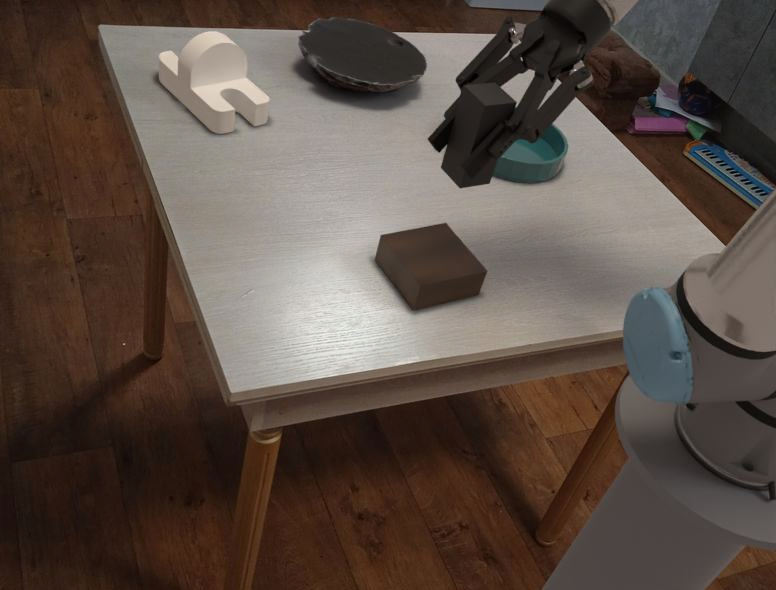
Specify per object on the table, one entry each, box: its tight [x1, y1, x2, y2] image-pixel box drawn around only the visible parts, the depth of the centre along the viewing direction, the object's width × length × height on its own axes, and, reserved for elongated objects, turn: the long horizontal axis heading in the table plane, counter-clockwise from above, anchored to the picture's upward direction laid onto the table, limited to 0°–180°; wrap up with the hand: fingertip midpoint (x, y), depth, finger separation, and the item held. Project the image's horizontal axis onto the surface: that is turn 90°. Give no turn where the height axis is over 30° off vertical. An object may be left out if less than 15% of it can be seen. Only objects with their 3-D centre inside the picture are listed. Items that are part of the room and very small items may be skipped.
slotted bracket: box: [158, 30, 271, 135], centre depth 122 cm, size 18×10×10 cm, turn 40°
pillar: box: [440, 83, 518, 189], centre depth 97 cm, size 4×4×11 cm
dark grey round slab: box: [297, 16, 428, 93], centre depth 139 cm, size 22×22×5 cm
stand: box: [374, 222, 488, 311], centre depth 105 cm, size 10×10×4 cm
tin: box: [492, 106, 569, 184], centre depth 132 cm, size 17×17×4 cm
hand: (449, 158), depth 96 cm, fingers closed on pillar, 5 cm apart
